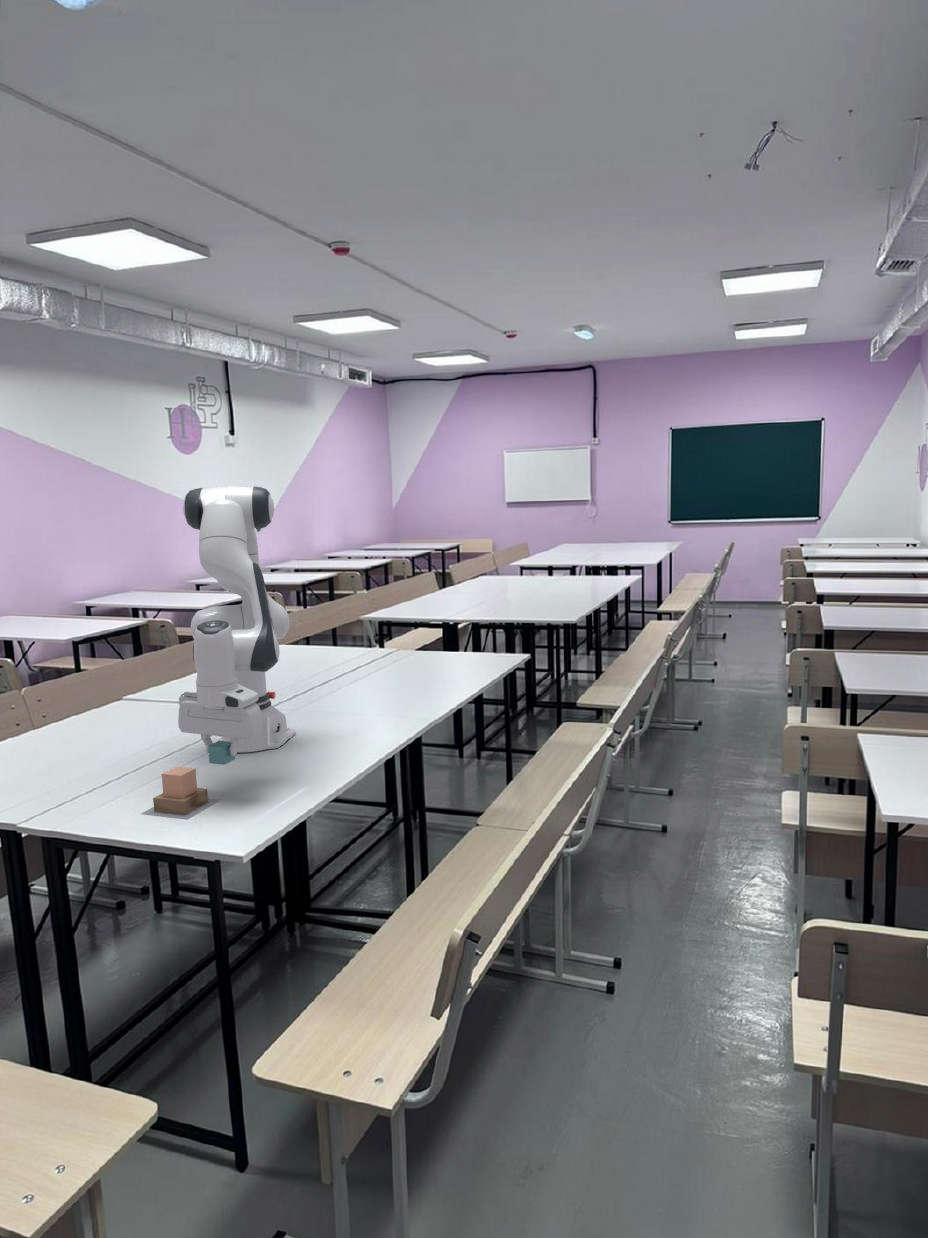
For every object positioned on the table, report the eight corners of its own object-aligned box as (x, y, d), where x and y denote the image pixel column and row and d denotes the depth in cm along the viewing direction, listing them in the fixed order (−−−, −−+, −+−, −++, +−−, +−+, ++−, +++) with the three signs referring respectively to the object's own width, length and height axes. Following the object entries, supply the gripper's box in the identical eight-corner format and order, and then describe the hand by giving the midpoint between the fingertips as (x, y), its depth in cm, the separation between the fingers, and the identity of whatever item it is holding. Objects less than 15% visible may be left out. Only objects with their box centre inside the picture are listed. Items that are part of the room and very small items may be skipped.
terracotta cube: (178, 788, 186) (176, 766, 185) (197, 790, 184) (195, 768, 184) (163, 796, 181) (161, 773, 181) (182, 798, 180) (181, 775, 179)
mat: (176, 797, 191) (176, 794, 191) (221, 802, 187) (221, 799, 187) (140, 816, 180) (140, 814, 180) (187, 822, 176) (187, 819, 176)
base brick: (178, 798, 188) (177, 785, 188) (208, 801, 186) (207, 788, 185) (154, 811, 181) (153, 798, 180) (185, 815, 178) (184, 801, 178)
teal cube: (220, 757, 192) (218, 740, 191) (235, 759, 191) (233, 742, 190) (209, 763, 188) (208, 746, 188) (224, 764, 187) (223, 747, 186)
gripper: (169, 694, 187) (174, 753, 190) (248, 701, 181) (252, 762, 183) (187, 687, 193) (192, 745, 196) (264, 694, 187) (268, 753, 189)
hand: (221, 753), depth 189 cm, fingers closed on teal cube, 4 cm apart
